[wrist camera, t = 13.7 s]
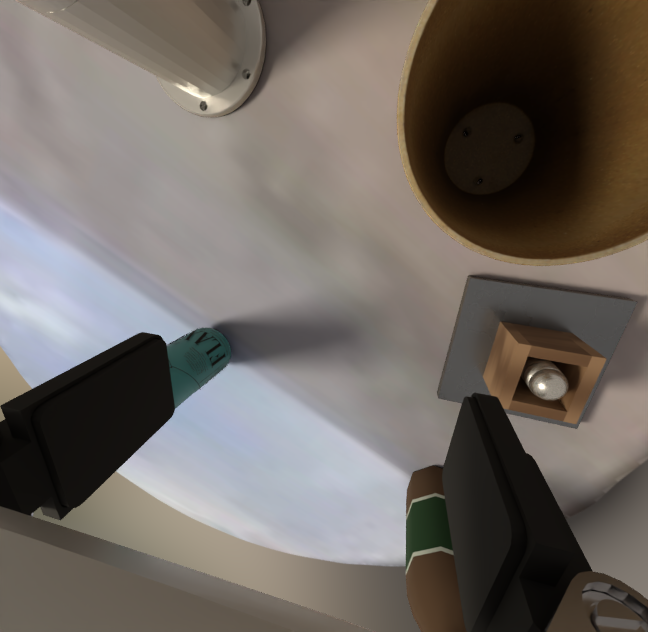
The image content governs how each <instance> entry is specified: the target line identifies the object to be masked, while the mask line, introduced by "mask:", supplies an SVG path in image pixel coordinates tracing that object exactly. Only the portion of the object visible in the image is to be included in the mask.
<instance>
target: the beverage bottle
mask: <svg viewBox="0 0 648 632" xmlns="http://www.w3.org/2000/svg"><path fill="white" fill-rule="evenodd" d="M184 336H185V335H184ZM184 336H182V337H183V338H182V337H180V338H181V339H180V338H179V339H177V340H175V341H173V342H174V343H173V342H172V344H171V343H170V344H167V352H168V360H169V367H170V374H171V382H172V389H173V396H174V404H175V408H177V407H178V406H179V405H180V404H181V403H182V402H184V401H185V400H186V399H187V398H188V397H189V396H191V395H192V394H193V393H194V392H196V391H197V390H198V389H200V388H201V387H202V386H204V384H206V383H207V382H208V381H209V380H211V379H212V378H213V379H214V376H215V375H216V374H217V375H218V373H220V371H221V370H223V369H224V368H226V365H227V364H229V363H228V362H229V360H230V357H231V349H230V345H229V343H228V341H227V339H226V338H225V337H224V336H223V335H222V334H221V333H220V332H218V331H217V330H214V329H211V328H201V329H198V328H197V329H196V330H195V331H193V332H191V333H190V334H188V335H187V334H186V336H185V337H184ZM168 345H169V346H168ZM227 366H228V365H227Z"/></svg>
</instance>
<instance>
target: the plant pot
mask: <svg viewBox="0 0 648 632" xmlns="http://www.w3.org/2000/svg"><path fill="white" fill-rule="evenodd" d="M463 132H467V133H468V136H467V137H466V136H464V134H463ZM397 134H398V143H399V150H400V155H401V160H402V163H403V167H404V171H405V174H406V177H407V179H408V182H409V184H410V186H411V189H412V191H413V193H414V195H415V197H416V198H417V200H418V202H419V203H420V205H421V206H422V208H423V209H424V211H425V212H426V213H427V215H428V216H429V217H430V218H431V220H432V221H433V222H434V223H435V224H436V225H437V226H438V227H439V228H440V229H441V230H442V231H444V232H445V233H446V234H447V235H449V236H450V237H451V238H453V239H454V240H456V241H457V242H458V243H460V244H462V245H463V246H465V247H467V248H469V249H471V250H473V251H475V252H477V253H480V254H482V255H485V256H488V257H490V258H493V259H496V260H500V261H504V262H509V263H515V264H521V265H534V266H550V265H564V264H572V263H579V262H585V261H589V260H594V259H598V258H601V257H605V256H608V255H611V254H614V253H617V252H620V251H623V250H626V249H628V248H630V247H633V246H635V245H637V244H640V243H642V242H644V241H646V240H648V0H429V2H428V4H427V6H426V8H425V10H424V12H423V14H422V16H421V18H420V20H419V23H418V25H417V27H416V29H415V32H414V35H413V37H412V40H411V43H410V46H409V49H408V52H407V56H406V59H405V63H404V66H403V71H402V75H401V80H400V86H399V93H398V105H397ZM517 135H521V137H520V138H518V139H516V138H515V137H516V136H517ZM479 179H482V182H481V183H480V184H478V183H477V182H478V180H479Z"/></svg>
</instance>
